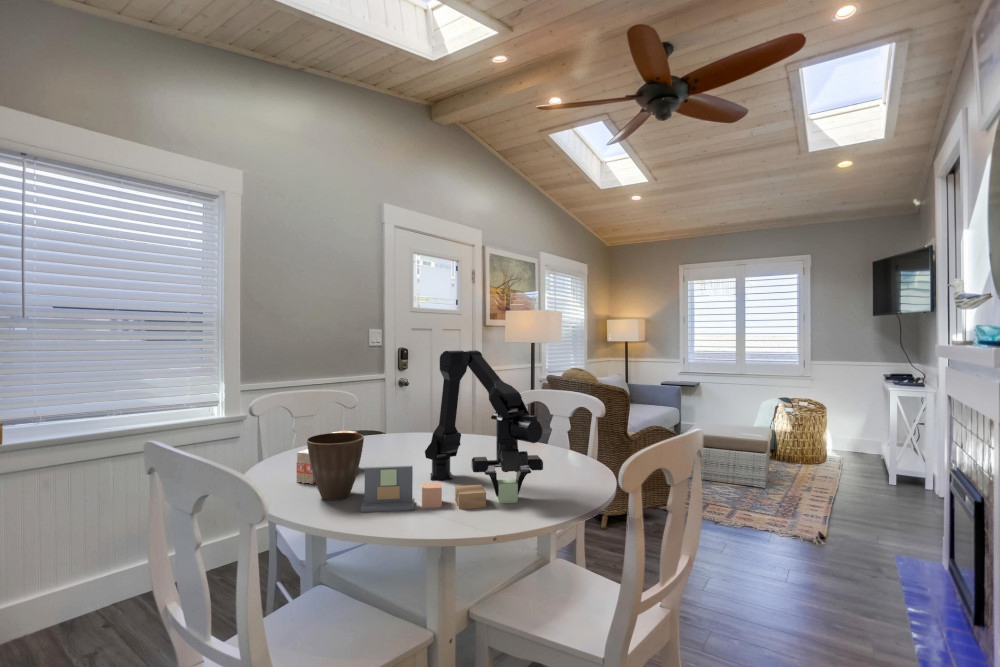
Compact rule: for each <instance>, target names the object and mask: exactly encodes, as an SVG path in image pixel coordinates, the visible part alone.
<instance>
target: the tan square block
mask: <svg viewBox="0 0 1000 667" xmlns="http://www.w3.org/2000/svg"><path fill="white" fill-rule="evenodd" d="M454 489H455V490H454V492H455V493H454V501H455V503H456V506H457V508H458V509H459V510H464V509H479V508H487V491H486V490H485V488H484V486H483V485H482V484H470V485H468V484H467V485H457V486H456V485H455V486H454Z"/></svg>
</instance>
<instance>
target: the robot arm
mask: <svg viewBox="0 0 1000 667" xmlns="http://www.w3.org/2000/svg"><path fill="white" fill-rule="evenodd" d="M468 368H469V370H470V371H471V372H472V373H473V374H474V375H475V377H476V379H478V381H479V382H480V384H481V385H482V386H483V388H484V389H485V390H486V391H487V393H488V400H489V403H490V404H491V406H492V408H493V410H494V411H495V412H494V413H493V414H492V415H491V416H490V418H491V420H496V422H495V423H496V427H495V428H496V432H495V434H496V437H495V438H496V442H495V443H496V445H495V446H496V449H495V451H496V454H495V455H496V459H492V460H491V459H490V460H488V459H487V456H473V457H472V458H471V470H472V472H473V473H484V475H485V476H489V479H490V481H491V483H492V487H493V491H494V493H495V496H498V486H497V479H498V478H497V471H496V468H501V469H500V470H501V471H502V472H503V473H508V472H515V473H516V475H515V480H516V481H517V483H518V495H520V494H519V493H520V491H521V487H522V485H523V482H524V480H525V478H526V477H527V475H528V474H531V473H532V471H542V470H544V461H543V459H542V458H541V457H540V456H539V455H538V454H532V455H531V454H530V455H529V454H528V451H524V450H523V451H522V450H521V451H519V450H520V449H519V444H518V442H519V441H521V442H526V443H530V444H537V443H538V442H539V441H540V440H541V438H542V435H543V427H542V425H541V423H540V421H538V416H537V415H530V412H529V411H528V408H527V407H526V405H525V402H524V401H523V399H522V394H521V393H520V392H519V391H518V390H517V389H516V388H515V387H514V386H512V385H511V384H508V383H506V382H505V381H504V380H502V379H501V378H500V376H499V375H498V374H497V373H496V371H495V370H494V369H493V368H492V366H491V365H490V364H489V363H488V362H487V361H486V359H485V358H484V356H483V354H482V352H481V351H479V350H473V349H472V350H466V351H464V350H444V351H443V352H442V353H441V354H440V356H439V371H440V373H441V375H442V378H443V385H442V392H441V403H440V413H439V419H438V420H439V421H438V422H439V423H438V425H437V426H436V428H435V430H434V431H433V433H432V436H431V440H430V444H429V445H428V446H427V447H426V448H425V450H424V455H425V459H428V460H431V472H430V480H431V481H435V480H436V481H439V480H453V474H452V471H451V458H452V457H457V454H458V450H459V448H460V446H461V437H462V434H461V432H459V431H458V428H457V427H456V424H457V423H456V422H457V414H458V403H459V395H460V384H461V380H462V378H463V377H464V376H465V374H466V372H467V371H468Z"/></svg>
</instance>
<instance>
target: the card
mask: <svg viewBox="0 0 1000 667" xmlns="http://www.w3.org/2000/svg"><path fill="white" fill-rule="evenodd" d="M413 470H414V469H413V465H391V466H389V465H388V466H365V467H364V500H363V502H362V504H361V507H360V513H373V512H374V513H375V512H378V513H379V512H396V511H414V510H415V504H416V503H415V498H413V482H414V481H413V479H414V477H413V474H414V473H413Z"/></svg>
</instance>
